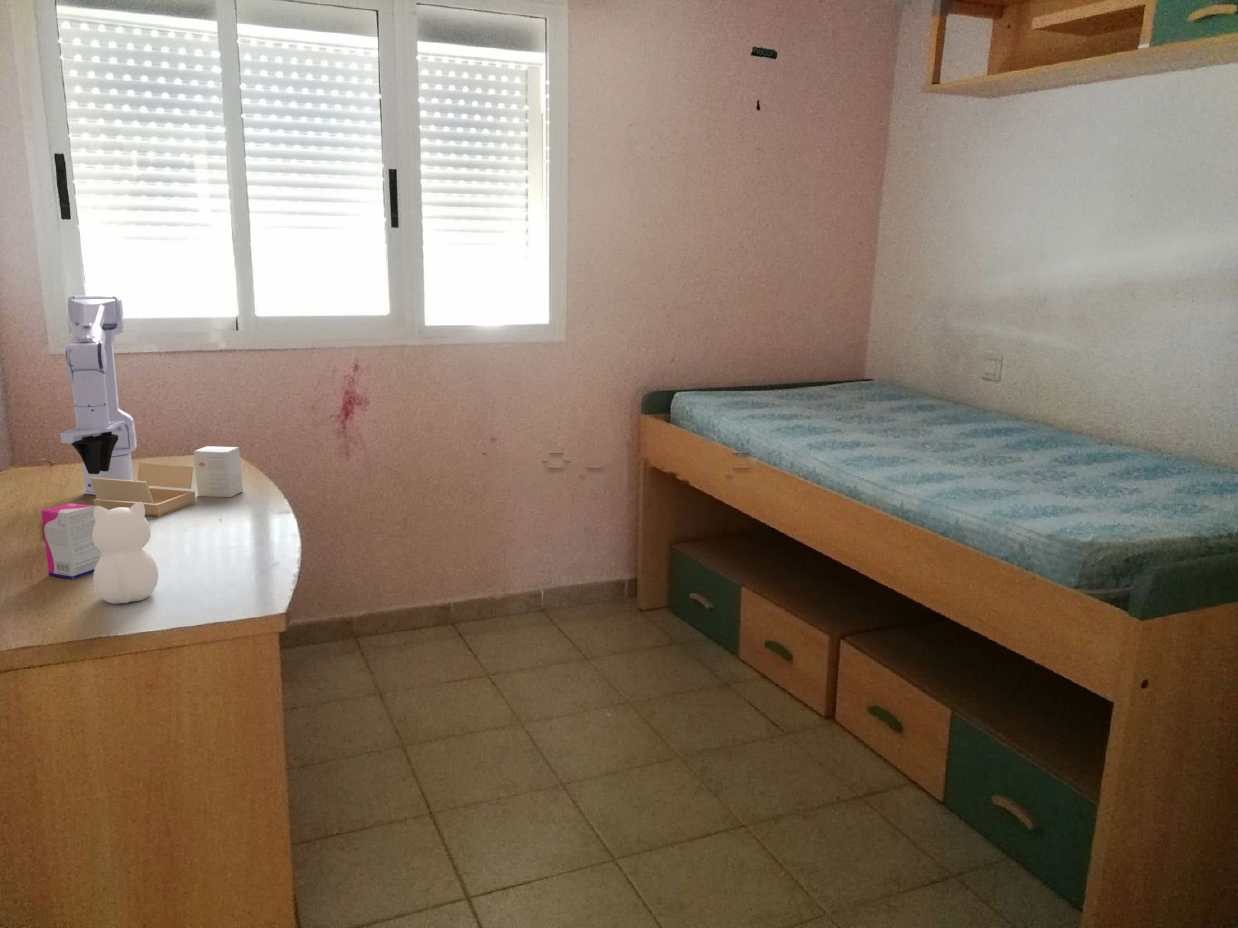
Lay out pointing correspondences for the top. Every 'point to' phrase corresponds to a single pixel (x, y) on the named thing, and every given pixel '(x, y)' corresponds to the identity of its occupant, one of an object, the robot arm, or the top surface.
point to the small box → (218, 471)
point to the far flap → (165, 475)
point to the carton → (155, 501)
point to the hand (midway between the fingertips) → (98, 472)
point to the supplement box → (70, 540)
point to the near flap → (121, 489)
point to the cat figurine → (123, 554)
